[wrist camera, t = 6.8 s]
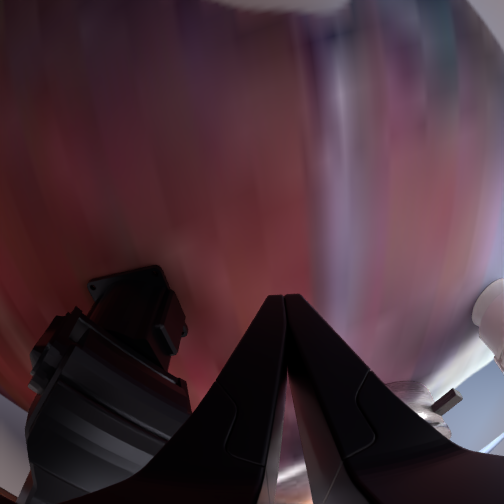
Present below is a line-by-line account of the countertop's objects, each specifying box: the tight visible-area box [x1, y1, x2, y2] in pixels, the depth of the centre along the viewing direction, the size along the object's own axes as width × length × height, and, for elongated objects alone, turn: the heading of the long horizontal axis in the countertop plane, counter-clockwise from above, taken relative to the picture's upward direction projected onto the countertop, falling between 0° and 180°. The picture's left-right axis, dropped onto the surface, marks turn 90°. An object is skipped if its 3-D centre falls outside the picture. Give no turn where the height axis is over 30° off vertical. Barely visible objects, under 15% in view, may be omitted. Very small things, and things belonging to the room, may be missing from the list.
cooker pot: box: [386, 381, 463, 423], centre depth 31 cm, size 16×20×5 cm
